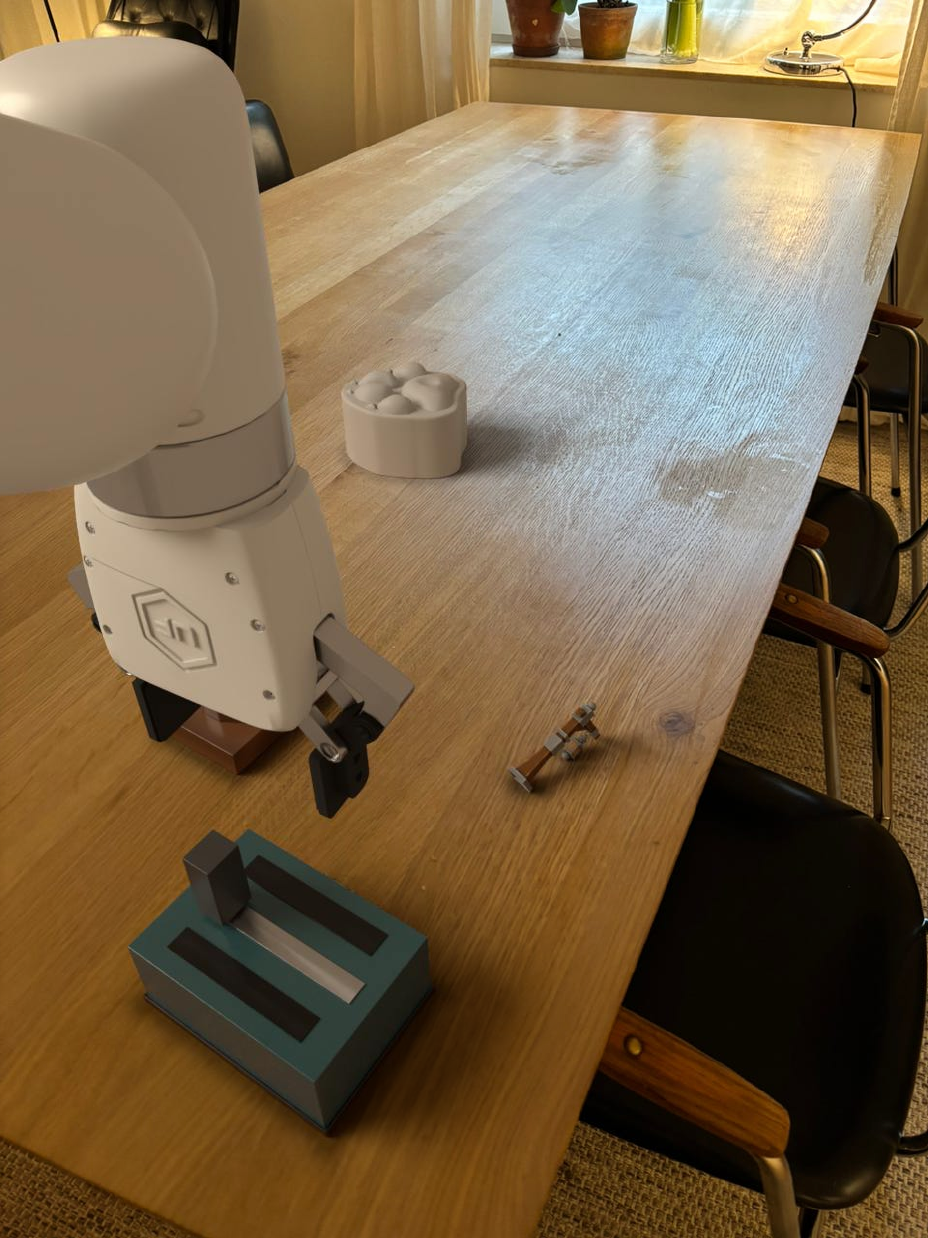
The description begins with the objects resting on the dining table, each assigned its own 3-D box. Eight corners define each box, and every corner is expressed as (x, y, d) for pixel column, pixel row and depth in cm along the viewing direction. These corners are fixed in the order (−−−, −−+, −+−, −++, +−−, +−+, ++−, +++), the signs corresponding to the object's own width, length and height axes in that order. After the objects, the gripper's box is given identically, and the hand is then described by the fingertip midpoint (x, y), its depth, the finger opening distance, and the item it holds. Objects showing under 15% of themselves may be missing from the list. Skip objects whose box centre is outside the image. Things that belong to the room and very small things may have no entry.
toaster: (326, 1138, 54) (314, 1088, 50) (144, 1001, 60) (120, 946, 56) (436, 990, 61) (433, 935, 57) (261, 879, 67) (247, 823, 63)
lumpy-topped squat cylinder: (455, 481, 104) (454, 407, 98) (335, 472, 106) (327, 398, 100) (471, 431, 112) (470, 360, 106) (358, 423, 113) (352, 353, 108)
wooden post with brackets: (614, 732, 75) (600, 704, 72) (539, 806, 74) (521, 782, 71) (598, 718, 77) (583, 690, 73) (524, 791, 75) (505, 766, 72)
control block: (237, 775, 74) (228, 739, 71) (162, 732, 77) (151, 695, 75) (324, 695, 80) (318, 659, 78) (251, 658, 84) (243, 623, 81)
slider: (223, 927, 57) (207, 875, 54) (198, 911, 58) (181, 858, 54) (252, 897, 58) (238, 844, 55) (227, 881, 59) (212, 828, 56)
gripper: (-65, 430, 36) (63, 746, 47) (328, 562, 30) (370, 891, 41) (84, 349, 41) (169, 652, 52) (448, 447, 35) (456, 768, 46)
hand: (257, 757), depth 47 cm, fingers open, 9 cm apart
